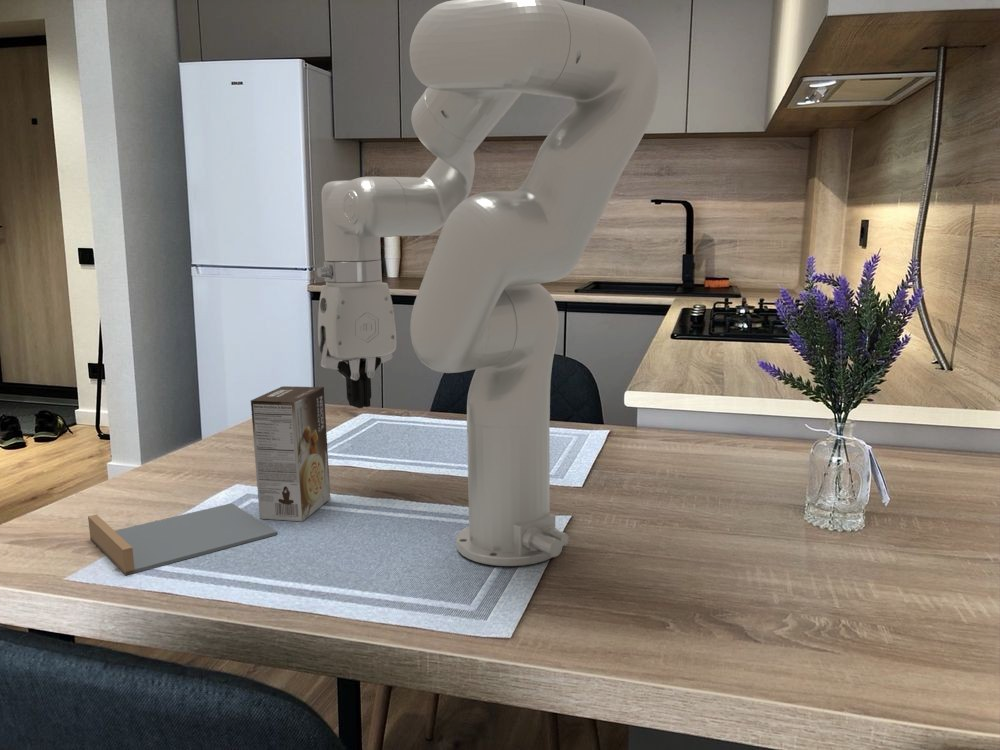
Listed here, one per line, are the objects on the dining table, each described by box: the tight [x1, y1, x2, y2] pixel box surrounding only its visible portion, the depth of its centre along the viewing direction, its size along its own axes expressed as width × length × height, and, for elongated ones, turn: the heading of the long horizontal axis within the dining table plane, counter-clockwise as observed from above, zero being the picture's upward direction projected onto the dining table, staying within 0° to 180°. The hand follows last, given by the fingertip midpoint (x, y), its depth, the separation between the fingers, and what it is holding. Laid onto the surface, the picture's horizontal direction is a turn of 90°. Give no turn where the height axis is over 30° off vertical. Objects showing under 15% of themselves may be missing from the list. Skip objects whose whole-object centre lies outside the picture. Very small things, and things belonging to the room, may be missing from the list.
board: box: [87, 502, 278, 576], centre depth 103 cm, size 14×18×3 cm
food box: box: [250, 385, 331, 522], centre depth 111 cm, size 9×6×16 cm
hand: (359, 405), depth 117 cm, fingers closed
